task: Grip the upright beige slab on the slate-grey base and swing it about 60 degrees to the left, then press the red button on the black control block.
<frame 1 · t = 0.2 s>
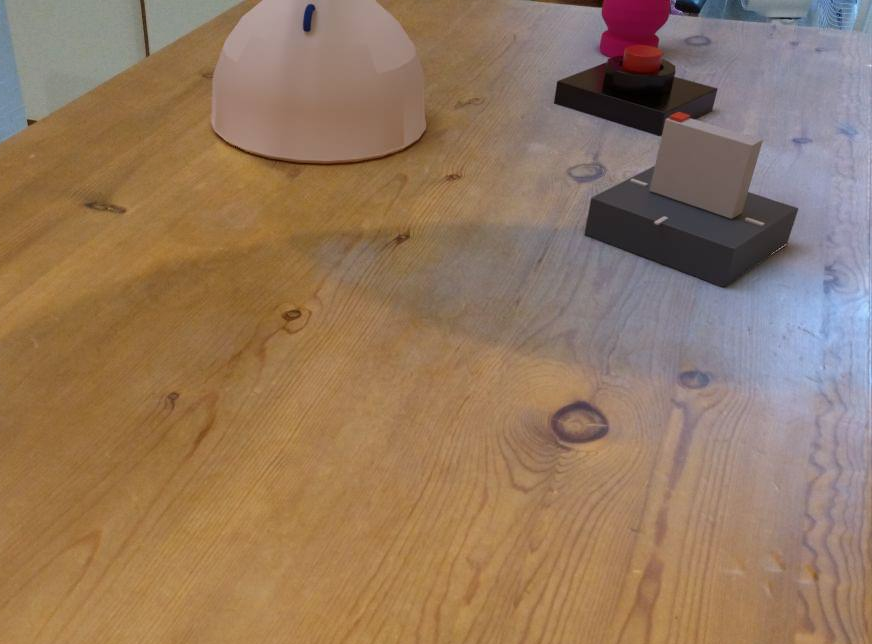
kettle: (318, 125, 100), on the table
dial base: (685, 239, 82), on the table
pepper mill: (626, 54, 118), on the table
upright beige slab: (704, 164, 78), point 6 cm above the table, hinge at 0.0°
control block: (632, 107, 105), on the table
button: (642, 60, 102), point 4 cm above the table, slide at 0.1 cm
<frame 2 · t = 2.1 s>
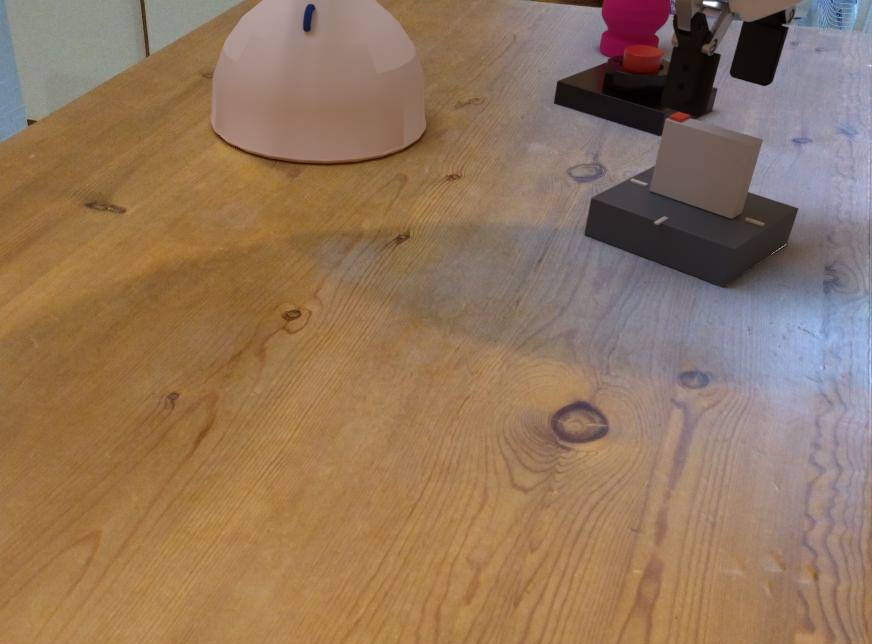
hand: (717, 95, 75), 11 cm above the table, tool pointing down, fingers open, 9 cm apart
nothing on the table moved.
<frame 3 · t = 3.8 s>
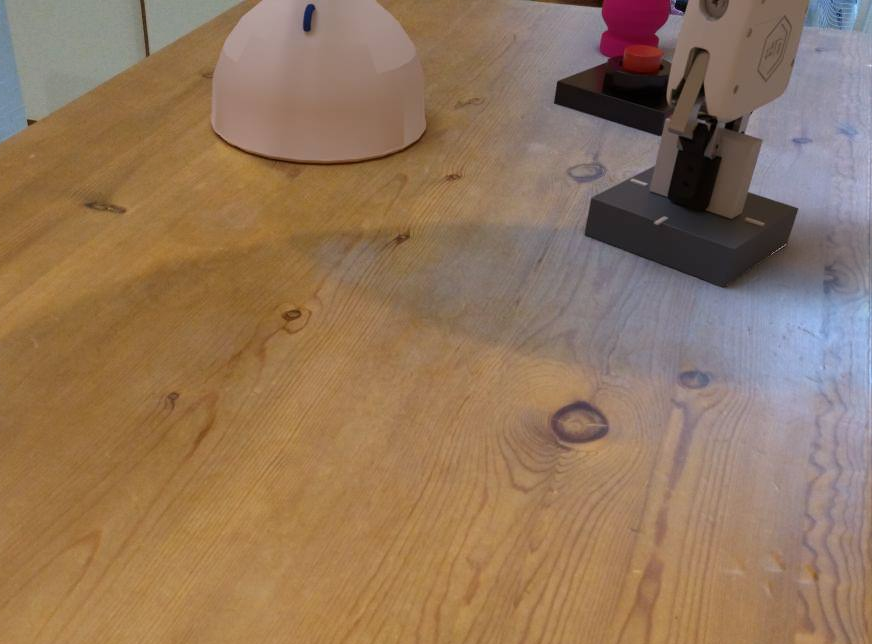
hand: (695, 198, 80), 3 cm above the table, tool pointing down, fingers closed on upright beige slab
upright beige slab: (704, 164, 78), point 6 cm above the table, hinge at 0.0°, touching gripper
everything else where it was.
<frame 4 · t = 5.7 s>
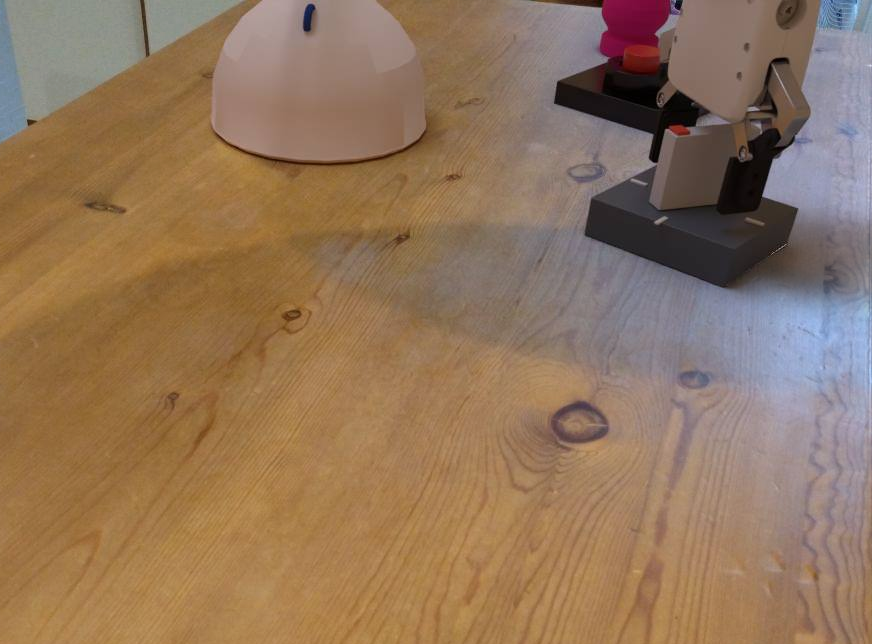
hand: (700, 184, 79), 4 cm above the table, tool pointing down, fingers open, 9 cm apart
upright beige slab: (704, 164, 78), point 6 cm above the table, hinge at 60.0°
everything else where it was.
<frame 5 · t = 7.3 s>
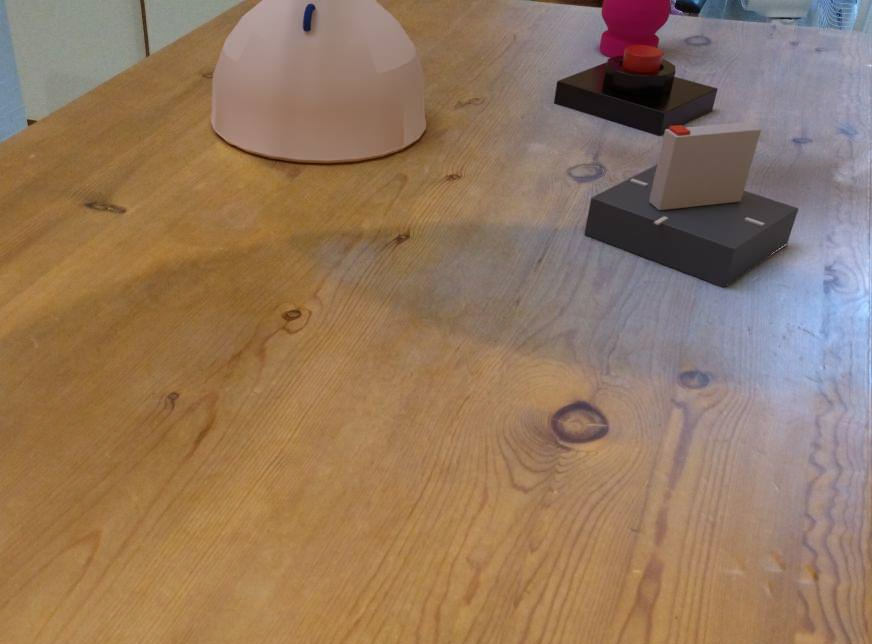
nothing on the table moved.
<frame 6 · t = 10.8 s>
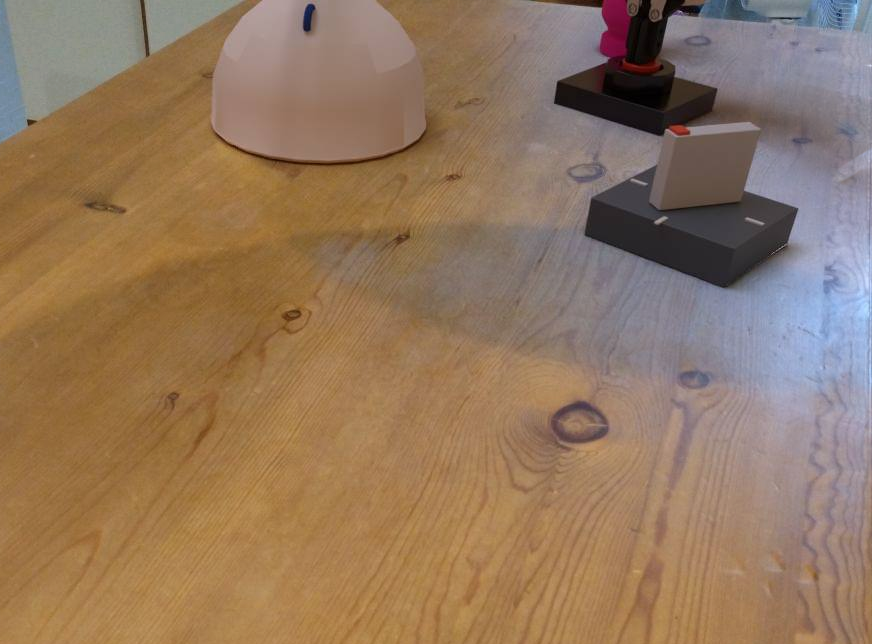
hand: (640, 60, 102), 4 cm above the table, tool pointing down, fingers closed
button: (640, 70, 102), point 3 cm above the table, slide at -0.9 cm, touching gripper
everything else where it was.
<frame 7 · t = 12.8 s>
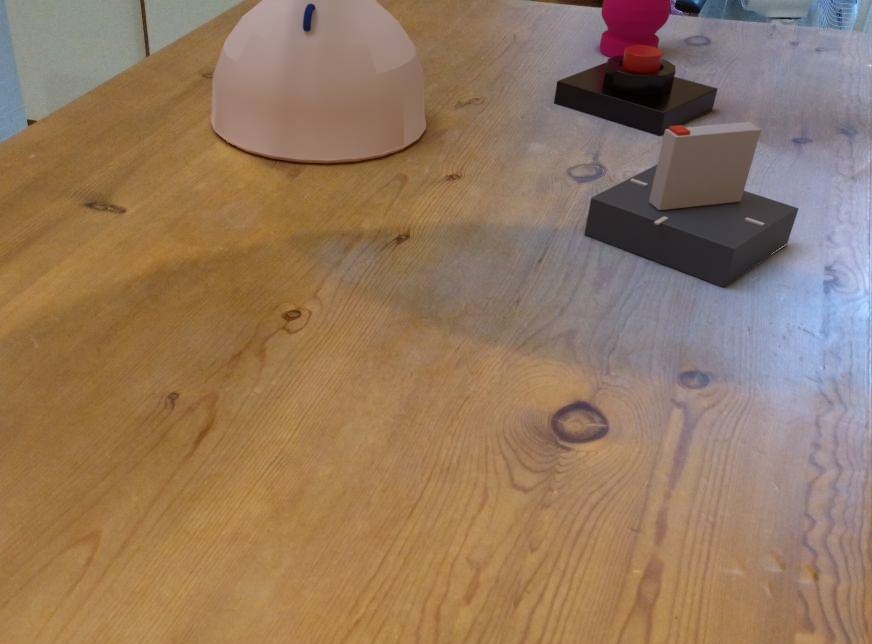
button: (642, 60, 102), point 4 cm above the table, slide at 0.1 cm
everything else where it was.
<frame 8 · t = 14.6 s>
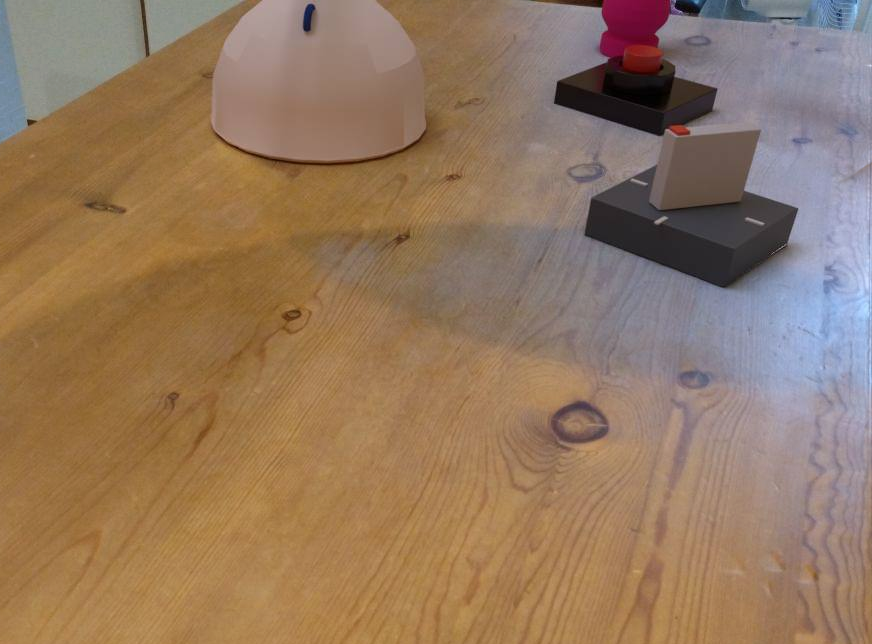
nothing on the table moved.
at the end: upright beige slab at +60° (first picture: +0°); button pushed in 1.1 cm at the most during the clip, back to where it started at the end; button slide at 0.1 cm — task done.
